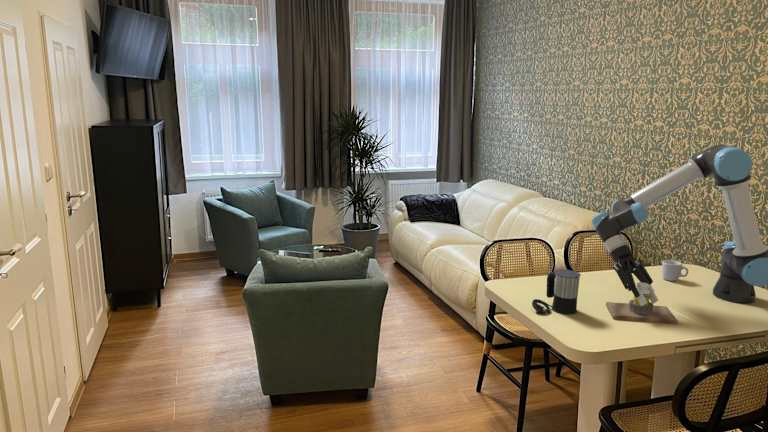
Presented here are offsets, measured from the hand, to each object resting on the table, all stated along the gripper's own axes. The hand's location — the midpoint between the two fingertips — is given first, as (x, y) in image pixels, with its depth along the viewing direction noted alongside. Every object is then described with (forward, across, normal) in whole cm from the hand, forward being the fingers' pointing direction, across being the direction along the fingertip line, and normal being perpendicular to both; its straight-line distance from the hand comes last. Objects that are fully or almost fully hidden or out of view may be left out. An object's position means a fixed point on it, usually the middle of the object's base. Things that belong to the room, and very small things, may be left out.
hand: (650, 303), depth 214 cm
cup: (-14, -49, -22) cm, 56 cm away
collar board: (+2, 0, -7) cm, 7 cm away
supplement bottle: (0, 0, -5) cm, 5 cm away
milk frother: (-10, +27, -19) cm, 34 cm away
